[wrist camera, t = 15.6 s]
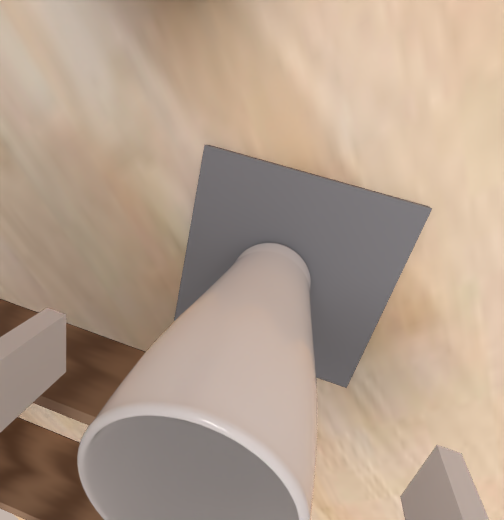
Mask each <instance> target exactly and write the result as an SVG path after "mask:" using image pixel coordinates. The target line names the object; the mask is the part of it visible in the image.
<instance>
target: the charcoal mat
mask: <svg viewBox="0 0 504 520" xmlns="http://www.w3.org/2000/svg"><path fill="white" fill-rule="evenodd" d="M431 210H432V208H430V207H428V206H425V205H421V204H418V203H414V202H411V201H407V200H403V199H400V198H396V197H393V196H389V195H386V194H382V193H378V192H375V191H371V190H368V189H364V188H361V187H357V186H354V185H350V184H346V183H343V182H339V181H336V180H332V179H329V178H325V177H321V176H318V175H314V174H311V173H307V172H304V171H300V170H297V169H293V168H289V167H286V166H282V165H279V164H275V163H272V162H268V161H264V160H261V159H257V158H254V157H250V156H247V155H243V154H239V153H236V152H232V151H229V150H225V149H222V148H218V147H215V146H211V145H205V146H204V152H203V157H202V163H201V169H200V175H199V180H198V186H197V192H196V198H195V203H194V209H193V215H192V221H191V226H190V232H189V238H188V244H187V249H186V255H185V261H184V267H183V272H182V278H181V284H180V290H179V295H178V301H177V307H176V313H175V318H174V321H175V320H176V319H177V318H178V317H179V316H180V315H181V314H182V313H183V312H184V311H185V310H186V309H188V308H189V307H190V306H191V305H192V304H193V303H194V302H195V301H196V300H197V299H198V298H199V297H200V296H201V295H202V294H203V293H204V292H205V291H206V290H207V289H208V288H209V287H210V286H212V285H213V284H214V283H215V282H216V281H217V280H218V279H219V278H220V277H221V276H222V275H223V274H224V273H225V272H226V271H227V270H228V269H229V268H230V267H231V266H232V265H233V263H234V262H235V261H236V259H237V258H238V257H239V256H240V255H241V254H242V253H243V252H244V251H245V250H246V249H248V248H250V247H252V246H254V245H257V244H261V243H277V244H281V245H284V246H287V247H289V248H290V249H292V250H294V251H295V252H296V253H297V254H298V255H300V257H301V258H302V259H303V260H304V262H305V263H306V265H307V267H308V269H309V273H310V277H311V290H310V302H311V317H312V331H313V343H314V355H315V368H316V377H317V378H320V379H323V380H325V381H328V382H331V383H334V384H337V385H340V386H342V387H345V388H347V386H348V384H349V382H350V380H351V377H352V375H353V373H354V371H355V369H356V367H357V365H358V363H359V361H360V359H361V356H362V354H363V352H364V350H365V348H366V346H367V344H368V342H369V340H370V338H371V336H372V333H373V331H374V329H375V327H376V325H377V323H378V321H379V319H380V317H381V315H382V313H383V310H384V308H385V306H386V304H387V302H388V300H389V298H390V296H391V294H392V292H393V289H394V287H395V285H396V283H397V281H398V279H399V277H400V275H401V273H402V271H403V269H404V266H405V264H406V262H407V260H408V258H409V256H410V254H411V252H412V250H413V248H414V245H415V243H416V241H417V239H418V237H419V235H420V233H421V231H422V229H423V227H424V225H425V222H426V220H427V218H428V216H429V214H430V212H431Z"/></svg>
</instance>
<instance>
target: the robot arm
mask: <svg viewBox="0 0 504 520" xmlns="http://www.w3.org/2000/svg"><path fill="white" fill-rule="evenodd" d="M65 372H66V314H64V313H61V312H58V311H56V310H53V309H50V308H46V309H44V310H42V311H41V312H39V313H38V314H36V315H35V316H33V317H31V318H30V319H28V320H27V321H25V322H24V323H22V324H20V325H19V326H17V327H16V328H14V329H12V330H11V331H9V332H8V333H6V334H5V335H3V336H1V337H0V432H2V431H3V430H4V429H5V428H6V427H7V426H8V425H9V424H10V423H11V422H12V421H13V420H15V419H16V418H17V417H18V416H19V415H20V414H21V413H22V412H23V411H24V410H25V409H26V408H27V407H29V406H30V405H31V404H32V403H33V402H34V401H35V400H36V399H37V398H38V397H39V396H40V395H42V394H43V393H44V392H45V391H46V390H47V389H48V388H49V387H50V386H51V385H52V384H53V383H55V382H56V381H57V380H58V379H59V378H60V377H61V376H62V375H63V374H64V373H65ZM400 497H401V502H402V507H403V512H404V517H405V520H489V518H488V516H487V513H486V511H485V509H484V506H483V504H482V501H481V499H480V497H479V494H478V492H477V489H476V487H475V485H474V482H473V480H472V477H471V475H470V472H469V470H468V468H467V465H466V463H465V460H464V458H463V456H462V453H459V452H456V451H453V450H450V449H448V448H445V447H442V446H439V445H436V447H435V448H434V450H433V451H432V452H431V454H430V455H429V457H428V458H427V459H426V461H425V462H424V464H423V465H422V467H421V468H420V469H419V471H418V472H417V474H416V475H415V476H414V478H413V479H412V481H411V482H410V483H409V485H408V486H407V488H406V489H405V490H404V492H403V493H402V495H401V496H400Z"/></svg>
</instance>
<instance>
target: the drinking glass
mask: <svg viewBox="0 0 504 520" xmlns="http://www.w3.org/2000/svg"><path fill="white" fill-rule="evenodd" d="M310 290H311V277H310V273H309V269H308V267H307V265H306V263H305V262H304V260H303V259H302V258H301V257H300V255H298V254H297V253H296V252H295V251H294V250H292V249H290V248H289V247H287V246H284V245H281V244H277V243H261V244H257V245H254V246H252V247H250V248H248V249H246V250H245V251H244V252H243V253H242V254H241V255H240V256H239V257H238V258H237V259H236V261H235V262H234V263H233V265H232V266H231V267H230V268H229V269H228V270H227V271H226V272H225V273H224V274H223V275H222V276H221V277H220V278H219V279H218V280H217V281H216V282H215V283H214V284H213V285H212V286H210V287H209V288H208V289H207V290H206V291H205V292H204V293H203V294H202V295H201V296H200V297H199V298H198V299H197V300H196V301H195V302H194V303H193V304H192V305H191V306H190V307H189V308H188V309H186V310H185V311H184V312H183V313H182V314H181V315H180V316H179V317H178V318H177V319H176V320H175V321H174V322H173V323H172V324H171V325H170V326H169V327H168V328H167V329H166V330H165V331H164V332H163V333H162V334H161V336H160V337H159V338H158V339H157V340H156V341H155V342H154V343H153V344H152V345H151V346H150V348H149V349H148V350H147V351H146V352H145V353H144V355H143V356H142V357H141V358H140V359H139V361H138V362H137V363H136V364H135V365H134V367H133V368H132V369H131V370H130V372H129V373H128V374H127V376H126V377H125V378H124V379H123V381H122V382H121V383H120V385H119V386H118V387H117V389H116V390H115V391H114V393H113V394H112V396H111V397H110V398H109V400H108V401H107V402H106V404H105V405H104V406H103V408H102V409H101V411H100V412H99V413H98V415H97V416H96V418H95V419H94V420H93V421H92V423H91V424H90V425H89V426H88V428H87V429H86V431H85V432H84V434H83V436H82V438H81V441H80V444H79V447H78V454H77V466H78V473H79V477H80V480H81V483H82V486H83V488H84V491H85V493H86V495H87V497H88V498H89V500H90V502H91V503H92V505H93V506H94V508H95V509H96V511H97V512H98V513H99V514H100V516H101V517H102V518H103V519H104V520H311V509H312V499H313V489H314V478H315V466H316V449H317V382H316V368H315V355H314V343H313V331H312V317H311V302H310Z"/></svg>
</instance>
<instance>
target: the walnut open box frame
mask: <svg viewBox="0 0 504 520" xmlns="http://www.w3.org/2000/svg"><path fill="white" fill-rule="evenodd" d="M36 314H38V313H37V312H34V311H31V310H29V309H26V308H23V307H20V306H18V305H15V304H12V303H10V302H7V301H4V300H1V299H0V337H1V336H3V335H5V334H6V333H8V332H9V331H11V330H12V329H14V328H16V327H17V326H19V325H20V324H22V323H24V322H25V321H27V320H28V319H30V318H31V317H33V316H35V315H36ZM144 353H145V352H144V351H141V350H138V349H136V348H133V347H130V346H127V345H125V344H122V343H119V342H116V341H114V340H111V339H108V338H105V337H103V336H100V335H97V334H94V333H92V332H89V331H86V330H84V329H81V328H78V327H75V326H73V325H70V324H67V323H66V372H65V373H64V374H63V375H62V376H61V377H60V378H59V379H58V380H57V381H56V382H55V383H53V384H52V385H51V386H50V387H49V388H48V389H47V390H46V391H45V392H44V393H43V394H42V395H40V396H39V397H38V398H37V399H36V400H35V401H34V402H33V403H35V404H37V405H40V406H42V407H45V408H47V409H50V410H52V411H55V412H57V413H60V414H62V415H65V416H67V417H70V418H72V419H75V420H77V421H80V422H82V423H85V424H87V425H90V424H91V423H92V421H93V420H94V419H95V418H96V416H97V415H98V413H99V412H100V411H101V409H102V408H103V406H104V405H105V404H106V402H107V401H108V400H109V398H110V397H111V396H112V394H113V393H114V391H115V390H116V389H117V387H118V386H119V385H120V383H121V382H122V381H123V379H124V378H125V377H126V376H127V374H128V373H129V372H130V370H131V369H132V368H133V367H134V365H135V364H136V363H137V362H138V361H139V359H140V358H141V357H142V356H143V355H144ZM79 444H80V443H78V442H76V441H74V440H71V439H69V438H66V437H64V436H61V435H59V434H56V433H54V432H52V431H49V430H47V429H44V428H42V427H39V426H37V425H34V424H32V423H30V422H27V421H25V420H22V419H20V418H16V419H15V420H13V421H12V422H11V423H10V424H9V425H8V426H7V427H6V428H5V429H4V430H3V431H2V432H0V508H1V509H3V510H5V511H7V512H10V513H12V514H14V515H16V516H18V517H21V518H23V519H25V520H104V519H103V518H102V517H101V516H100V514H99V513H98V512H97V511H96V509H95V508H94V506H93V505H92V503H91V502H90V500H89V498H88V497H87V495H86V493H85V491H84V488H83V486H82V483H81V480H80V477H79V473H78V466H77V454H78V447H79Z"/></svg>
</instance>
